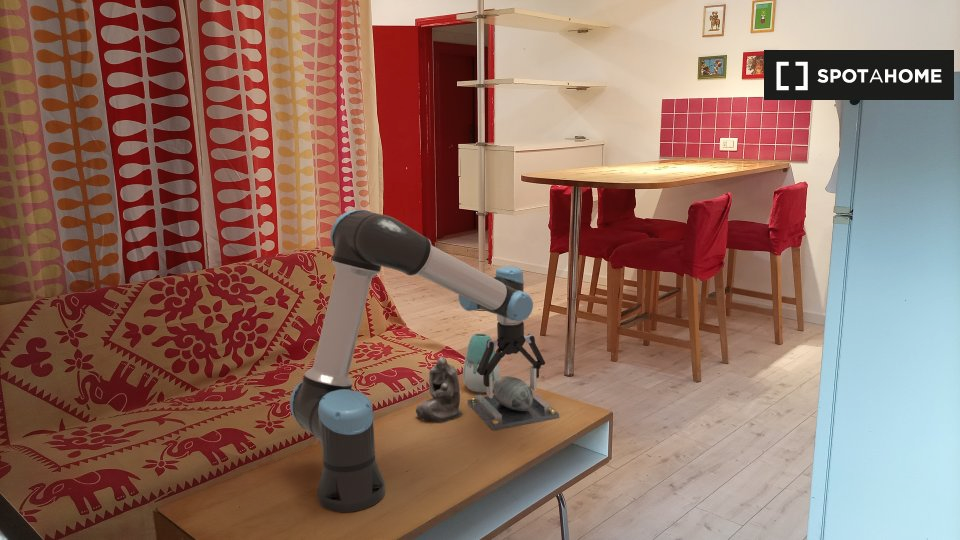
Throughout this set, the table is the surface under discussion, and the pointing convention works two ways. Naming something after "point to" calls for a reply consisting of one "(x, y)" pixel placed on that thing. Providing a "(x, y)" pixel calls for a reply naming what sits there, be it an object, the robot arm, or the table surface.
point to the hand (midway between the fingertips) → (511, 392)
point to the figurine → (441, 394)
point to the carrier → (510, 412)
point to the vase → (477, 364)
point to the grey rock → (513, 393)
